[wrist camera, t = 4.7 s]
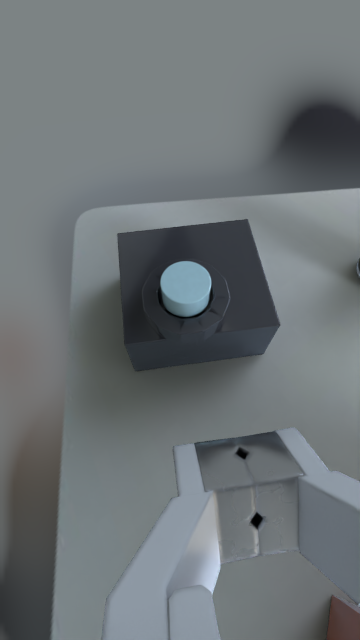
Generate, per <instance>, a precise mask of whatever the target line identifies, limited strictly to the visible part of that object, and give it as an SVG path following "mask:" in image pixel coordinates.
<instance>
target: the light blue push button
mask: <svg viewBox="0 0 360 640" xmlns="http://www.w3.org/2000/svg"><path fill="white" fill-rule="evenodd" d="M160 286H161V295H162V302H163V304H164V306H165V307H166V309H167V310H168V311H169V312H171V313H172V314H174V315H176V316H180V317H191V316H195V315H197V314H199V313H201V312H202V311H203V310H204V309H205V308H206V307H207V305H208V302H209V298H210V291H211V277H210V275H209V273H208V271H207V270H206V269H205V268H204V267H203V266H201V265H199V264H197V263H195V262H190V261H181V262H177V263H174V264H172V265H170V266H169V267H168V268H167V269H166V270H165V271H164V272H163V274H162V276H161V279H160Z"/></svg>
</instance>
